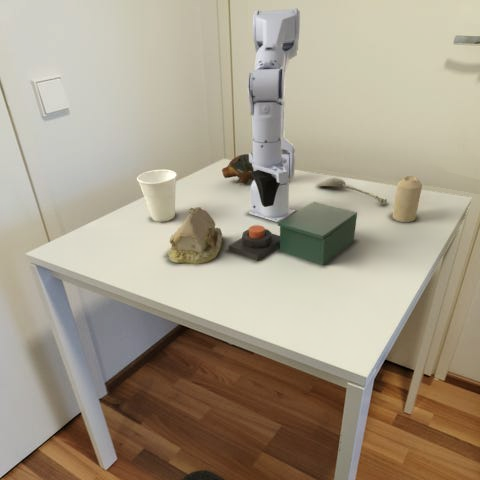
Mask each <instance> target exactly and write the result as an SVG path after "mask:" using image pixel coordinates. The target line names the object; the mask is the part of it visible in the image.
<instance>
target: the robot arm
mask: <svg viewBox="0 0 480 480" xmlns="http://www.w3.org/2000/svg"><path fill="white" fill-rule="evenodd" d="M300 22H301V12H300V10H299V9H298V8H296V7H295V8H294V9H293V8H291V9H273V10H272V9H271V10H270V9H269V10H259V9H257V10H255V12H254V13H253V15H252V38H253V42H254V49H255V52H256V54H255V59H254V66H253V71H252V72H249V73H248V77H247V96H248V101H249V108H250V109H249V113H250V116H251V131H252V132H251V136H252V137H251V138H252V151H251V152H249V153H248V154H249V162H250V163H252V167H253V168H254V171H252V172H251V175H252V177H253V178H254V180H253V179H252V182H251V185H250V190H249V191H250V192H249V193H250V211H249V212H248V215H251V216H254V217H255V216H256V217H258V218H262V219H266V220H269V221H272V222H275V223H278V222H280V221H282V220H283V219H285V218H287V217H289V216H290V215H292V214H294V213H295V212H296V209H294V208H289V207H290V205H289V204H290V203H289V202H290V201H289V199H290V180H293V178H295V171H296V148H295V145H294V144H293V143H292V142H291V141H289V140H288V139H287V138H286V137H285V121H286V89H287V88H286V87H287V70H288V66H289V63H290V60H292V59H293V58H295V57H297V56H298V51H299V44H300V43H299V41H300V26H301V23H300ZM282 151H287V152H288V153H282Z"/></svg>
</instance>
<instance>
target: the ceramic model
mask: <svg viewBox="0 0 480 480" xmlns="http://www.w3.org/2000/svg"><path fill="white" fill-rule="evenodd" d="M222 232H223V231H222V230H221V228H220V227H216V222H215V220H214V219H213V217H212V216H211V215H210V213H208V211H207V210H205V209H203V208H202V207H201V206H196V207H191V208H189V210H188V215H187V217H186V218H185V220H183V223H182V224H181V225H180V226H179V227H178V228H177V230H176V231H175V232H174V233H173V234H172V235H171V236H170V238H169V243H170V244H171V245H170V246H171V247H170V249H168V252H167V256H168V258H169V260H170V261H171V262H172V263H176V264H177V263H178V264H179V263H184V264H185V263H187V264H200V265H201V264H204V263H207V262H209V261H212V260H213V259H215V258H216V257H217V256H218V253H219V252H220V249H221V247H222V244H223V233H222Z"/></svg>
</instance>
